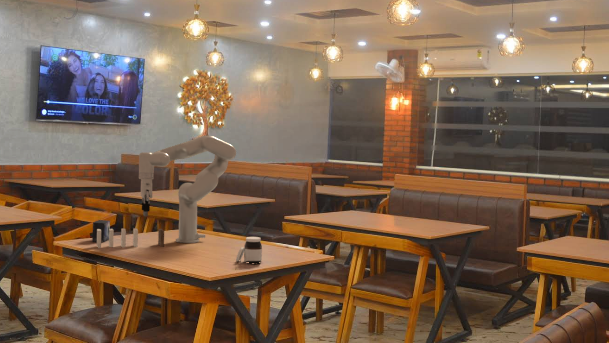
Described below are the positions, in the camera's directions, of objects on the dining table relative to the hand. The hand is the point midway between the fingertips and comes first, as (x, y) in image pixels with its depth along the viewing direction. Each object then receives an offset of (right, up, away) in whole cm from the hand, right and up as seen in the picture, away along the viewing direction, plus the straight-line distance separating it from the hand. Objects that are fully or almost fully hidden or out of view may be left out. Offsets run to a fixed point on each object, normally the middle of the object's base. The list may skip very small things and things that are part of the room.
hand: (145, 210), depth 374 cm
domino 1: (-20, -18, -14) cm, 31 cm away
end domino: (0, -3, 0) cm, 3 cm away
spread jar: (+57, -22, -42) cm, 74 cm away
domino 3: (-9, -18, -10) cm, 22 cm away
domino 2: (-15, -18, -12) cm, 26 cm away
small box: (-25, -17, +5) cm, 30 cm away
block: (+9, -18, -3) cm, 20 cm away
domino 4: (-4, -18, -8) cm, 20 cm away
